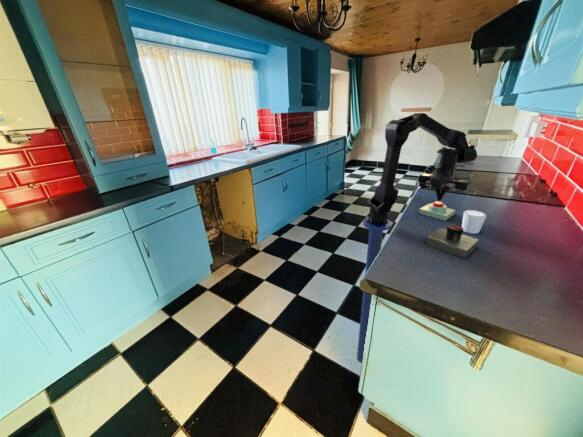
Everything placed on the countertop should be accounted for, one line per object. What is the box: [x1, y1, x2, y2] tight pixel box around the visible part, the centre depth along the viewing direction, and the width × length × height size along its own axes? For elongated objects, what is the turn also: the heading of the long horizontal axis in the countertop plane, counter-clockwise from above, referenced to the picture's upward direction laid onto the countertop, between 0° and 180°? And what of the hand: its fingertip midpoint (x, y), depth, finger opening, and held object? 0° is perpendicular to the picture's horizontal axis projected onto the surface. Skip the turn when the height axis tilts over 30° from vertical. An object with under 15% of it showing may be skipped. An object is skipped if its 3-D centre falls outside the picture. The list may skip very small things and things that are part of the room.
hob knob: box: [445, 224, 464, 241], centre depth 79 cm, size 4×4×4 cm
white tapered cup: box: [461, 209, 487, 234], centre depth 88 cm, size 7×7×7 cm
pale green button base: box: [418, 202, 456, 222], centre depth 103 cm, size 11×9×4 cm
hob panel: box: [425, 227, 480, 259], centre depth 80 cm, size 12×10×3 cm
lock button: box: [433, 200, 445, 208], centre depth 102 cm, size 4×4×2 cm
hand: (439, 200), depth 101 cm, fingers closed
